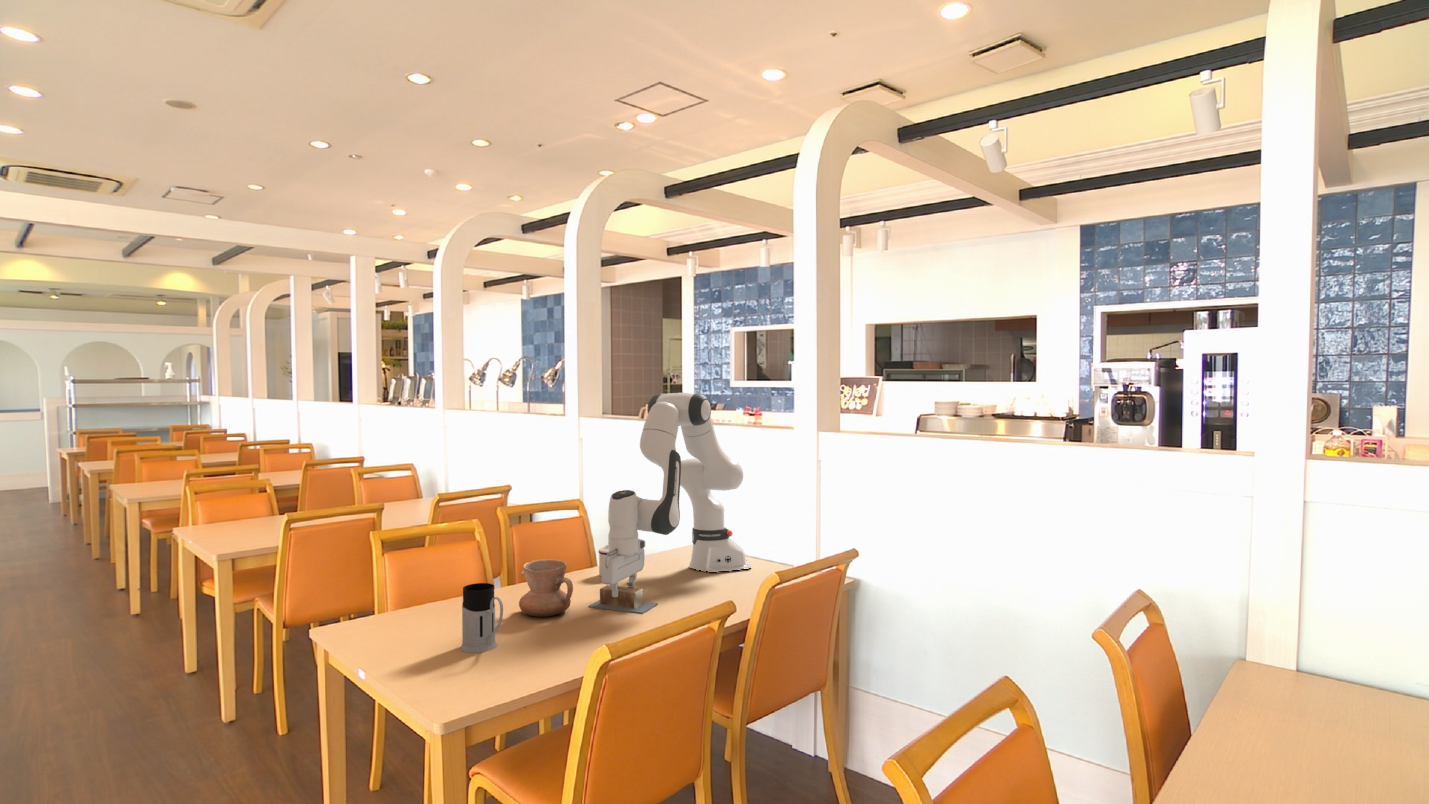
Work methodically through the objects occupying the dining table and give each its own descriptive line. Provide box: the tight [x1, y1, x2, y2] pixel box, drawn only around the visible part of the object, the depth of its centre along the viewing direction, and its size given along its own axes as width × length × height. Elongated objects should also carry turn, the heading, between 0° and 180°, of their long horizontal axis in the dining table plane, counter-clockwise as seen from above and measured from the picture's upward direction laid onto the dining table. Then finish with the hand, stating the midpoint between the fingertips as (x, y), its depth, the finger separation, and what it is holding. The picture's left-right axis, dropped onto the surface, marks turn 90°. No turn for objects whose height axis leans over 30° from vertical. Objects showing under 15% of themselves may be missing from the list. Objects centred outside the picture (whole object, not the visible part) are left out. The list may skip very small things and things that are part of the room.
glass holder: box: [460, 582, 504, 654], centre depth 187 cm, size 9×14×15 cm, turn 51°
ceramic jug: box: [518, 559, 574, 618], centre depth 216 cm, size 18×14×14 cm
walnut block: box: [599, 584, 644, 608], centre depth 224 cm, size 4×4×12 cm
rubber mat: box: [588, 599, 659, 615], centre depth 224 cm, size 18×10×1 cm, turn 69°
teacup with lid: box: [598, 544, 608, 578], centre depth 261 cm, size 12×9×12 cm
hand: (623, 592), depth 224 cm, fingers open, 8 cm apart
